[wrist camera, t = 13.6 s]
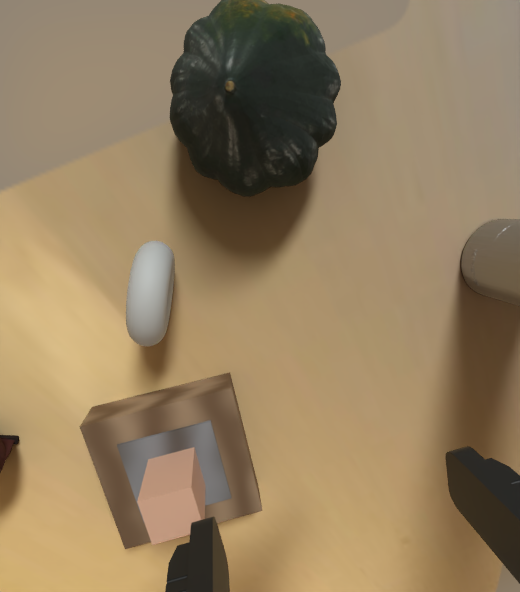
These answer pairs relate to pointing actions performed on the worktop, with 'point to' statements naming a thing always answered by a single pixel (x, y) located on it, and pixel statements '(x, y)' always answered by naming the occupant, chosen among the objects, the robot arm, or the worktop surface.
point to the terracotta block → (172, 495)
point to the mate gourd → (6, 447)
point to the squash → (254, 95)
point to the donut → (150, 293)
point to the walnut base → (173, 449)
